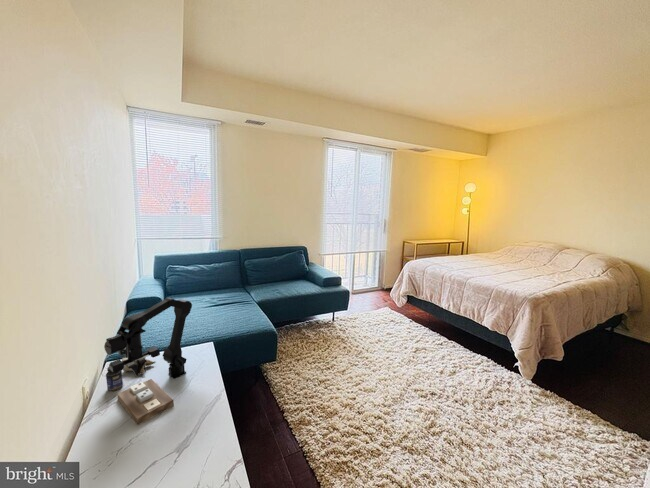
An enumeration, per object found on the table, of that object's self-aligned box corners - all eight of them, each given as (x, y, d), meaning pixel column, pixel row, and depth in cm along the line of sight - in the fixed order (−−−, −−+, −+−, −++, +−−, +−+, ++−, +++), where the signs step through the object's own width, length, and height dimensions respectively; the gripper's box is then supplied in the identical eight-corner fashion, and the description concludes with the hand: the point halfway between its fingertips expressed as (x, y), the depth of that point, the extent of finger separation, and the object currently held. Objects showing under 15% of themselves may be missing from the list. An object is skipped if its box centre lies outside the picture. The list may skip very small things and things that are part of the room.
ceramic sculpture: (129, 349, 155) (156, 351, 155) (129, 364, 157) (156, 365, 157) (114, 360, 145) (144, 362, 145) (115, 376, 146) (144, 377, 146)
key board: (151, 384, 139) (151, 378, 139) (173, 405, 125) (173, 399, 124) (118, 399, 128) (117, 393, 128) (137, 425, 114) (137, 418, 113)
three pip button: (149, 394, 130) (148, 388, 129) (153, 399, 127) (153, 392, 126) (136, 400, 126) (136, 393, 125) (141, 405, 123) (140, 398, 122)
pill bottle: (114, 392, 133) (112, 371, 132) (104, 391, 134) (101, 369, 133) (126, 384, 139) (124, 364, 138) (116, 383, 140) (113, 362, 139)
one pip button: (156, 404, 125) (156, 398, 125) (161, 409, 122) (160, 403, 122) (144, 411, 121) (143, 404, 121) (148, 416, 118) (147, 409, 118)
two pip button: (142, 387, 135) (141, 381, 134) (146, 391, 132) (145, 385, 131) (130, 392, 131) (129, 386, 130) (134, 397, 128) (133, 391, 127)
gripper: (149, 332, 140) (151, 361, 142) (103, 347, 125) (107, 379, 127) (159, 338, 133) (161, 369, 135) (111, 355, 118) (115, 389, 121)
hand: (137, 375), depth 130 cm, fingers closed
